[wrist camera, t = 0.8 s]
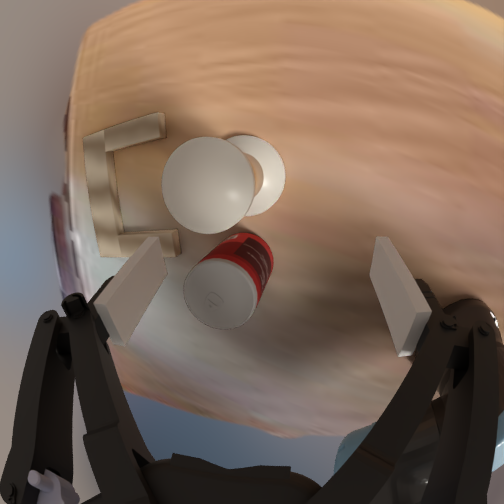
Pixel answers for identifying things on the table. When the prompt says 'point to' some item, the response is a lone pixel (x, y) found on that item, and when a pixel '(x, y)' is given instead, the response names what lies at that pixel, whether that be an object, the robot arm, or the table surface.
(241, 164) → the bobbin
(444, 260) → the table surface
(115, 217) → the notched board
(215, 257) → the canned food
